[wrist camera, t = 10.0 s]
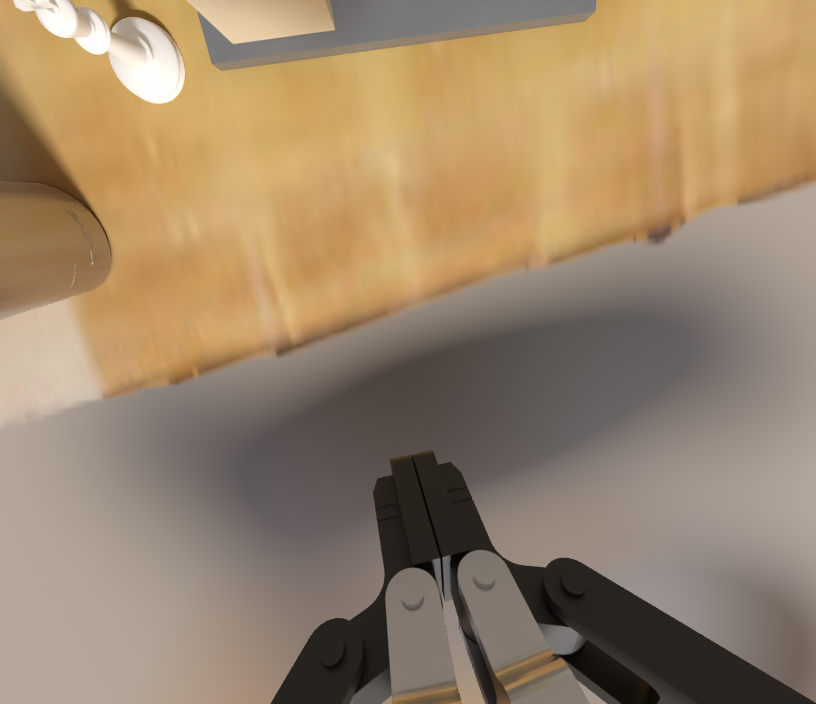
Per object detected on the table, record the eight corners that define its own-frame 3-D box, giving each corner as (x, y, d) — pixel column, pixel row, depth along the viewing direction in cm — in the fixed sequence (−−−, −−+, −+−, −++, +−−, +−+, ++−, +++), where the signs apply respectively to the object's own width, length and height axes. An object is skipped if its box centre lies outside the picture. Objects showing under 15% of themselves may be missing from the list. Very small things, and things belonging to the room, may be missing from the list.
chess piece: (100, 24, 25) (-68, -73, 16) (169, 14, 25) (40, -89, 16) (131, 108, 27) (-2, 64, 18) (195, 98, 27) (94, 50, 18)
